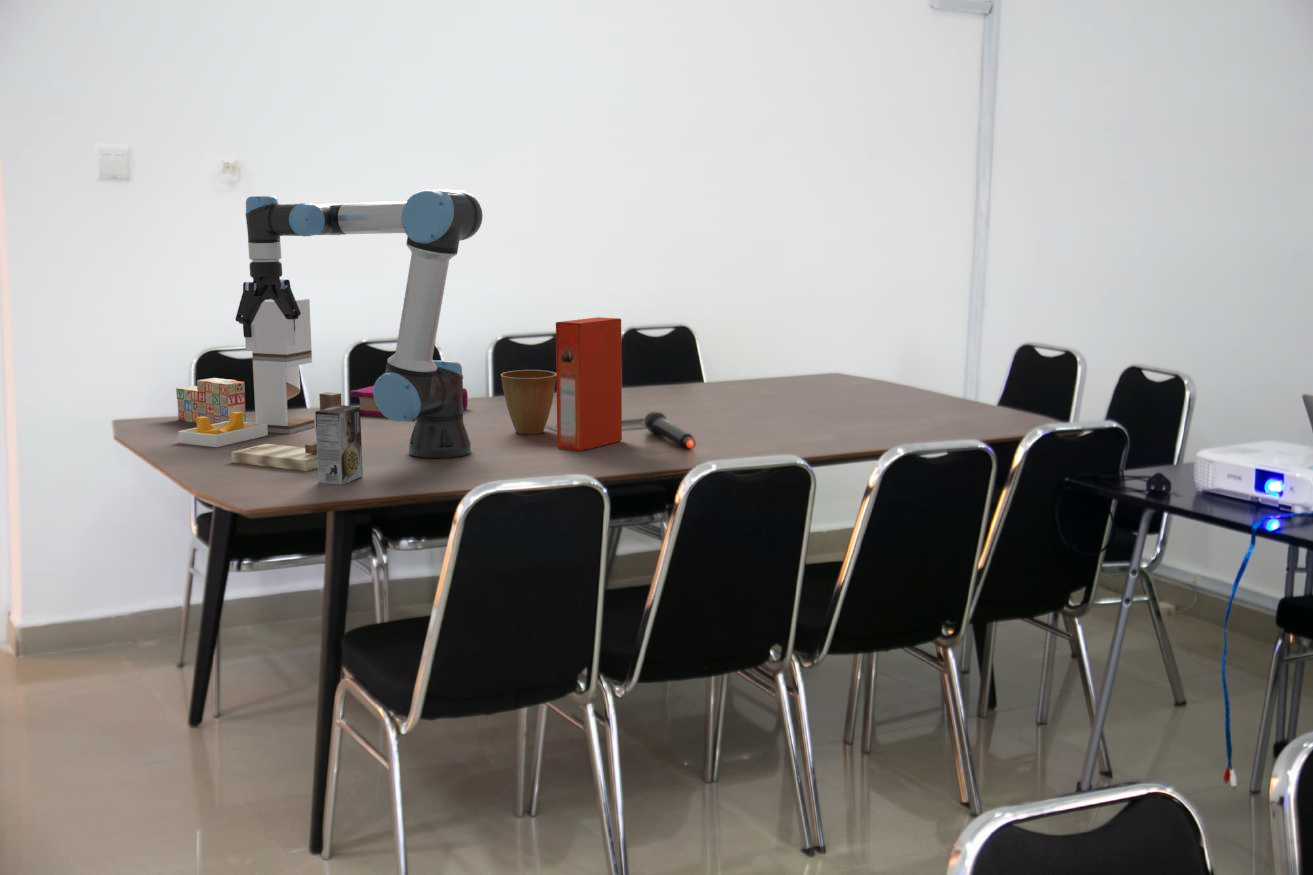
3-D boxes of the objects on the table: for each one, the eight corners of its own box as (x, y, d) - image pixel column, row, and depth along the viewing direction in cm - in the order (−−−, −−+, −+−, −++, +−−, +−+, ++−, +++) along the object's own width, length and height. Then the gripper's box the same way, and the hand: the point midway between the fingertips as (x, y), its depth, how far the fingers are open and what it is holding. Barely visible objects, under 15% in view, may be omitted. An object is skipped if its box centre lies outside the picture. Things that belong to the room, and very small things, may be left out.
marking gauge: (345, 457, 306) (342, 393, 303) (317, 464, 297) (315, 399, 295) (328, 455, 308) (325, 392, 306) (300, 462, 299) (298, 397, 297)
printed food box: (338, 474, 289) (335, 404, 286) (363, 476, 287) (361, 406, 285) (316, 483, 281) (313, 410, 278) (342, 485, 279) (340, 412, 276)
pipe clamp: (207, 444, 325) (205, 419, 324) (197, 441, 328) (196, 417, 327) (248, 437, 335) (247, 413, 333) (238, 435, 337) (237, 411, 336)
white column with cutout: (290, 433, 339) (284, 301, 333) (256, 431, 343) (249, 300, 336) (314, 426, 350) (309, 298, 344) (281, 424, 353) (275, 297, 347)
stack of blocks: (177, 420, 359) (175, 377, 357) (196, 417, 364) (193, 374, 362) (228, 428, 348) (226, 383, 345) (246, 425, 353) (244, 380, 351)
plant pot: (496, 428, 349) (496, 370, 346) (549, 426, 354) (549, 369, 351) (507, 438, 335) (506, 378, 333) (562, 435, 340) (562, 376, 337)
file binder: (556, 448, 323) (555, 321, 317) (596, 438, 337) (596, 316, 331) (581, 451, 319) (581, 323, 313) (621, 441, 333) (622, 318, 327)
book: (386, 405, 392) (385, 380, 390) (468, 410, 382) (467, 385, 381) (348, 415, 372) (347, 389, 371) (434, 421, 363) (433, 395, 362)
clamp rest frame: (267, 435, 337) (267, 424, 336) (216, 447, 320) (216, 435, 320) (230, 431, 342) (230, 420, 341) (178, 442, 325) (178, 431, 325)
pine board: (339, 461, 304) (338, 451, 303) (306, 470, 293) (305, 460, 292) (266, 453, 313) (266, 443, 312) (231, 462, 302) (231, 451, 301)
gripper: (288, 258, 322) (293, 342, 326) (215, 262, 300) (222, 352, 304) (311, 259, 319) (316, 343, 323) (240, 263, 297) (246, 353, 300)
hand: (271, 348), depth 313 cm, fingers open, 13 cm apart
